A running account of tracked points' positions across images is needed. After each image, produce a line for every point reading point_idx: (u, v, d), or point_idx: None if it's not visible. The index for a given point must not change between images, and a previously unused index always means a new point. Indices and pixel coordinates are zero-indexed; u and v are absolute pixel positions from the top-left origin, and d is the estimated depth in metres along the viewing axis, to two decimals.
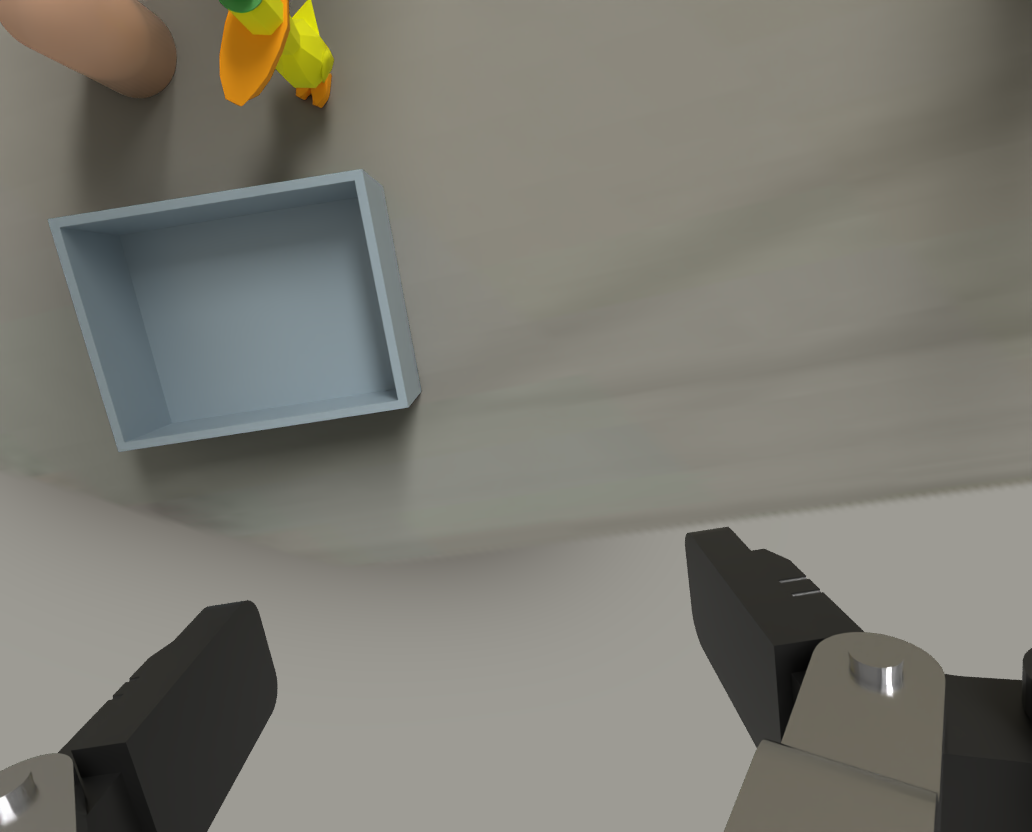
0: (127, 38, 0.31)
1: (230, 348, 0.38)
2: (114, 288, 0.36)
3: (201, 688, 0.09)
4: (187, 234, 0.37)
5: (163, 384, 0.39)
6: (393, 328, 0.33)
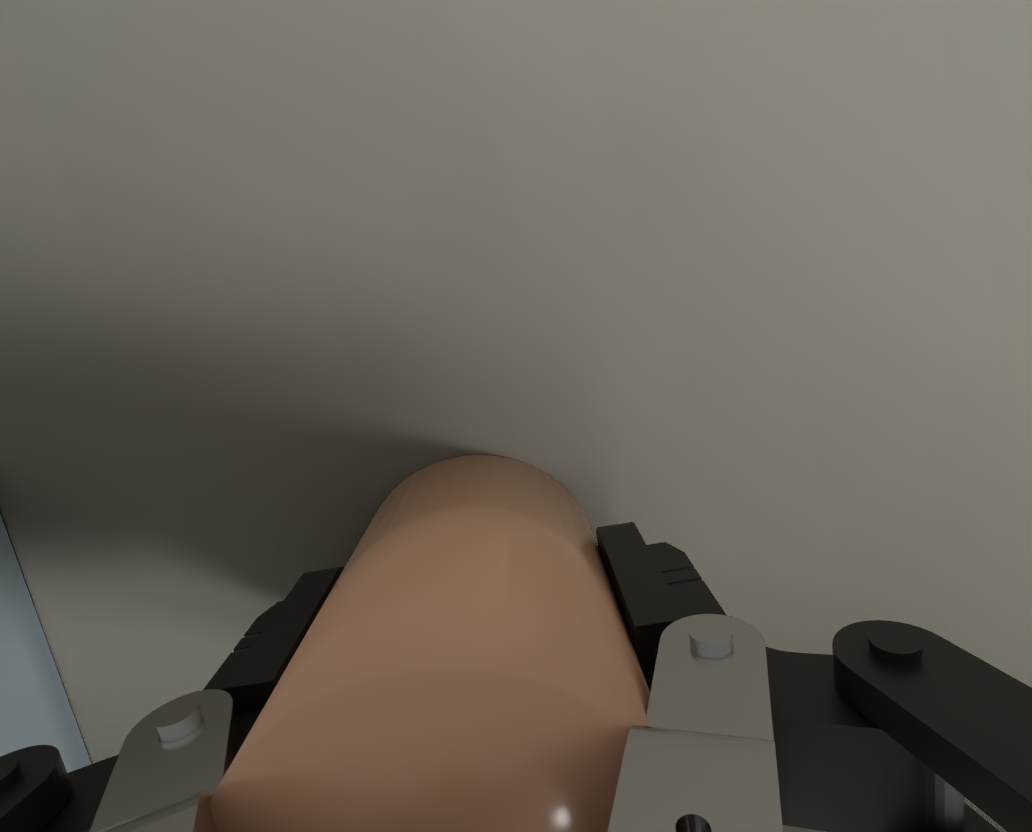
0: None
1: None
2: None
3: None
4: None
5: None
6: None
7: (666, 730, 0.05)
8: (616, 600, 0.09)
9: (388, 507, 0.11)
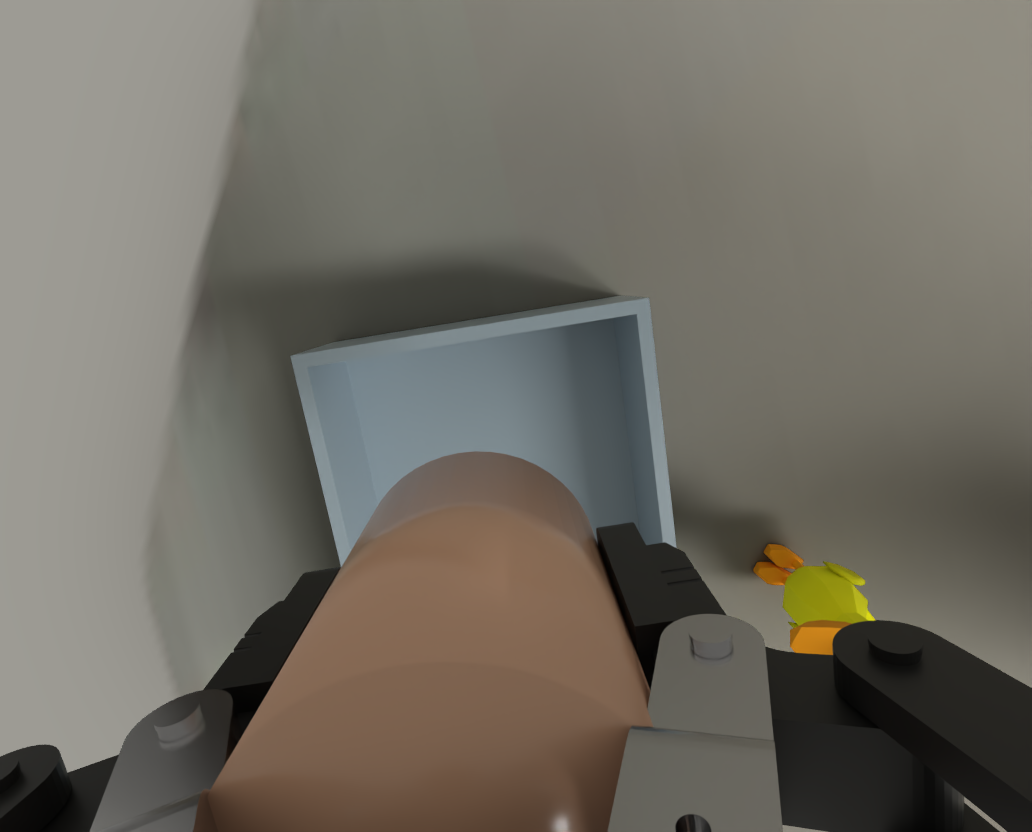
0: None
1: (457, 445, 0.27)
2: None
3: None
4: (611, 402, 0.27)
5: None
6: None
7: (666, 730, 0.05)
8: (615, 596, 0.09)
9: (387, 503, 0.11)
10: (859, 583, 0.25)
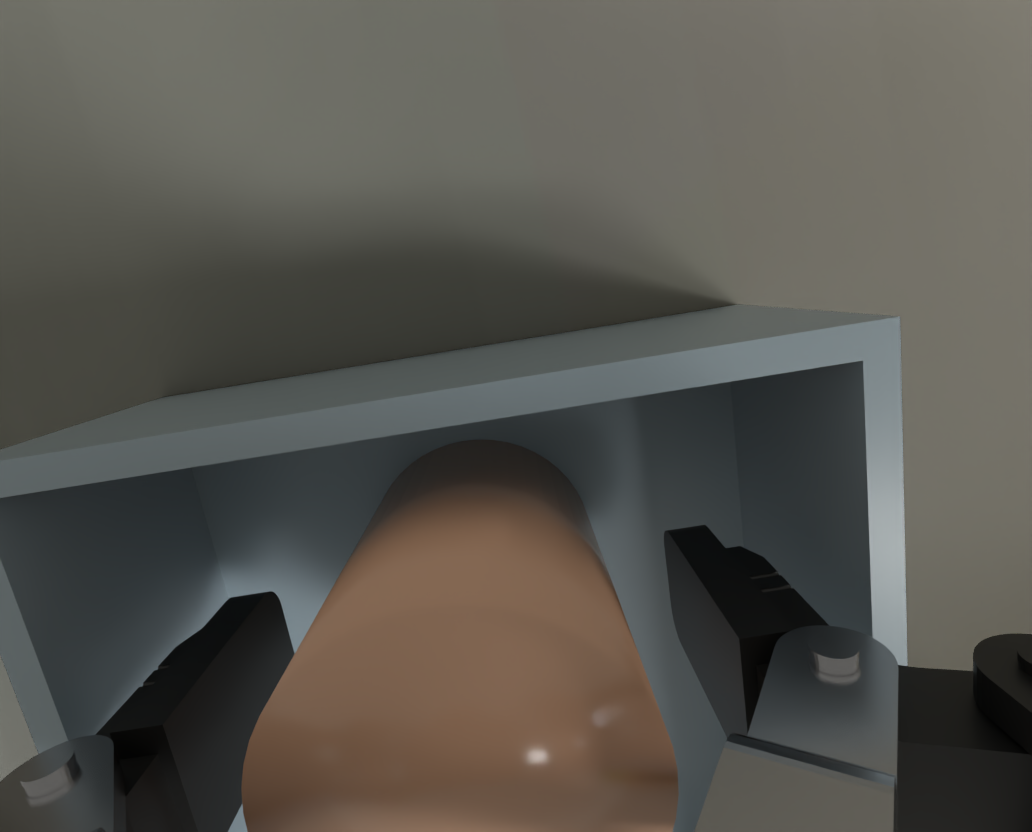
0: None
1: None
2: None
3: (229, 674, 0.09)
4: (716, 516, 0.14)
5: None
6: None
7: (769, 744, 0.05)
8: (606, 567, 0.10)
9: (398, 486, 0.12)
10: None
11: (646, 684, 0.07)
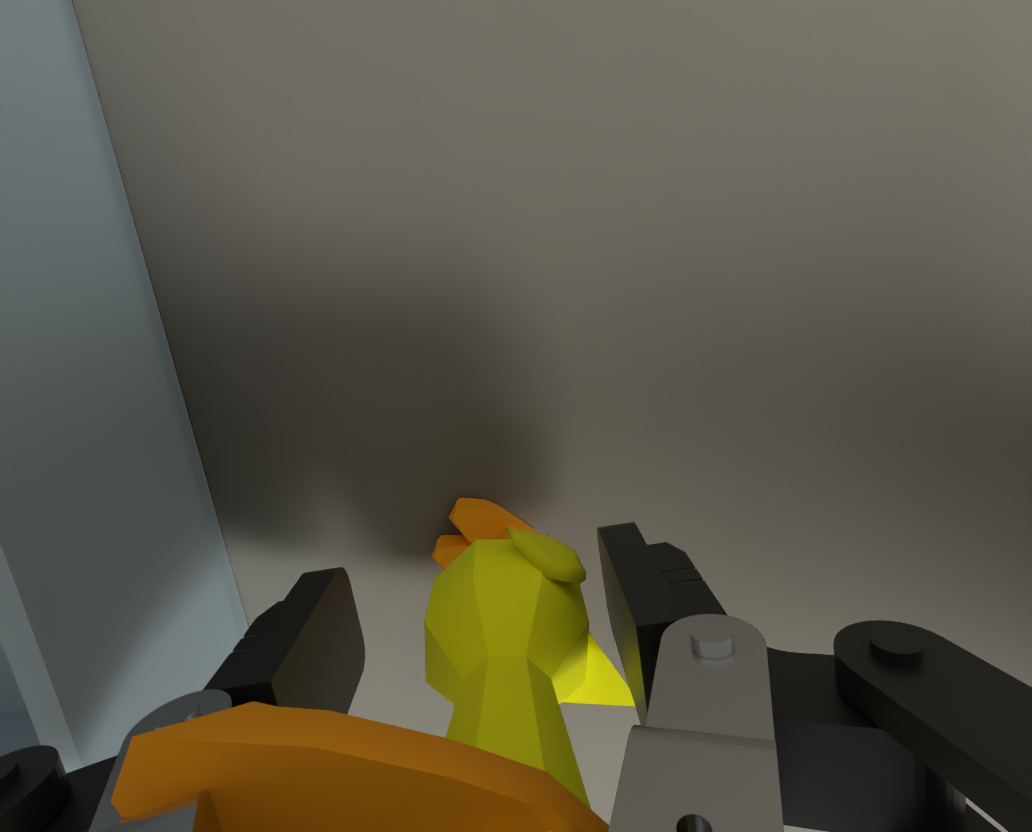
0: None
1: None
2: None
3: (315, 642, 0.10)
4: None
5: None
6: None
7: (667, 730, 0.05)
8: None
9: None
10: (569, 579, 0.10)
11: None
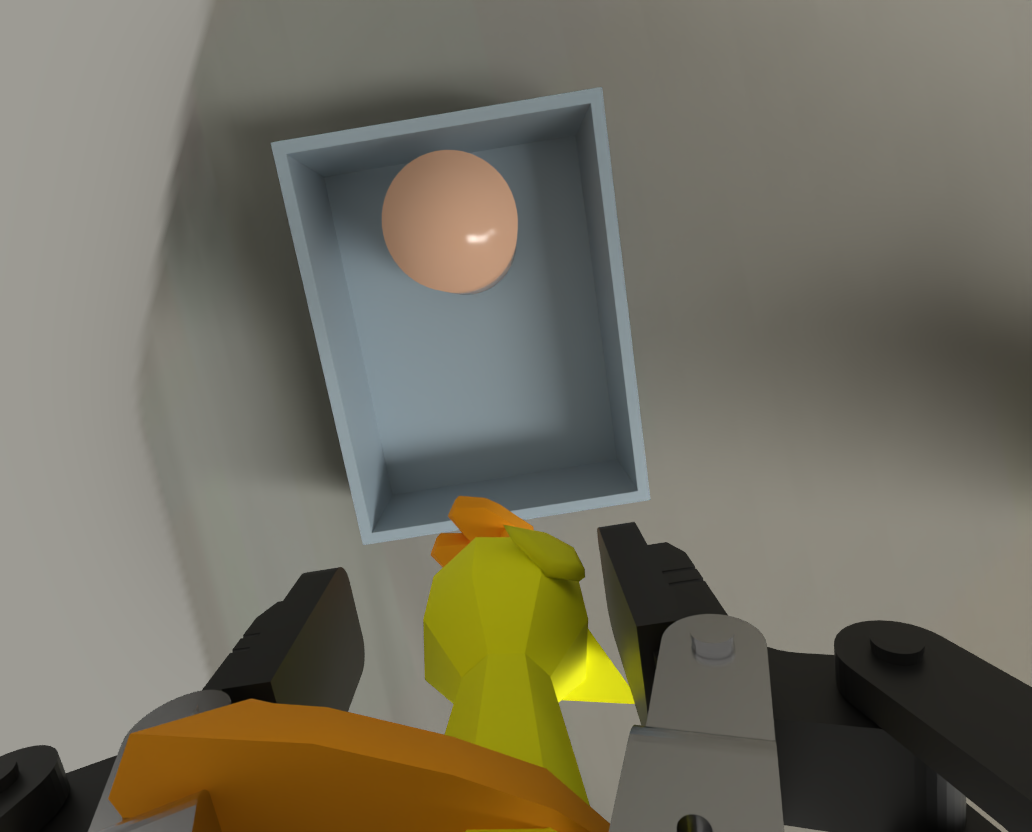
0: None
1: None
2: (508, 136, 0.26)
3: (315, 642, 0.10)
4: (575, 228, 0.29)
5: (378, 171, 0.28)
6: None
7: (667, 730, 0.05)
8: None
9: None
10: (568, 576, 0.10)
11: None
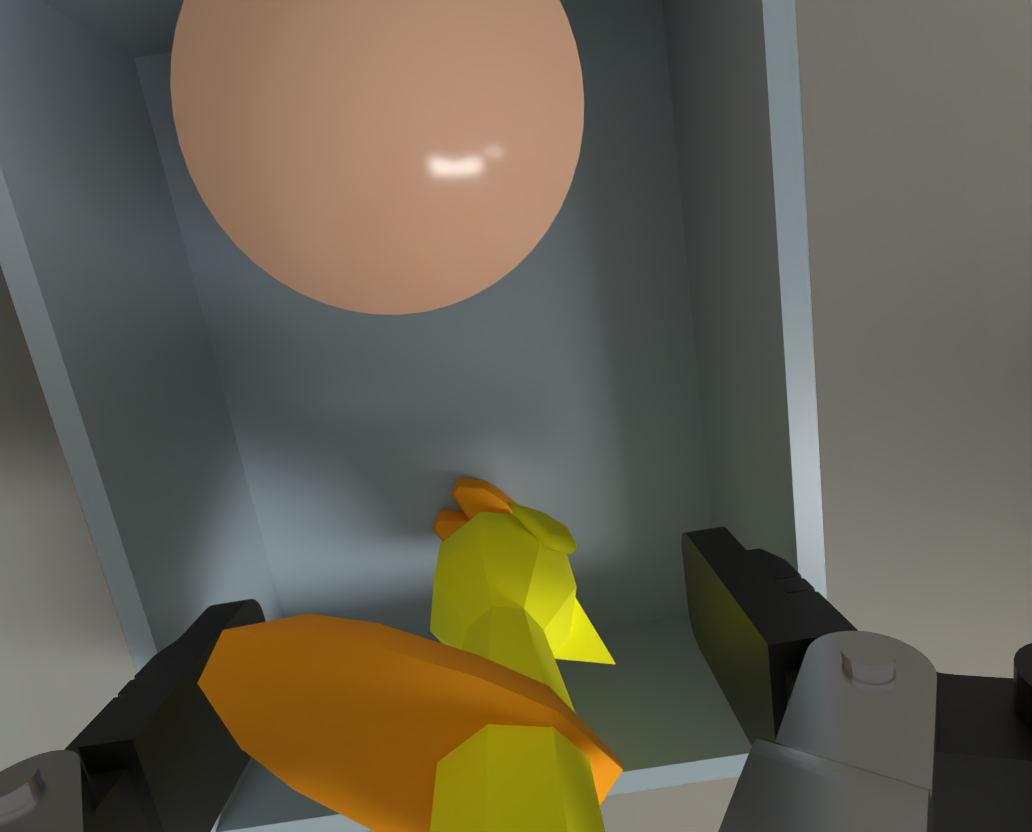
0: None
1: None
2: None
3: None
4: (653, 168, 0.14)
5: None
6: None
7: (797, 751, 0.05)
8: None
9: None
10: (562, 548, 0.12)
11: None
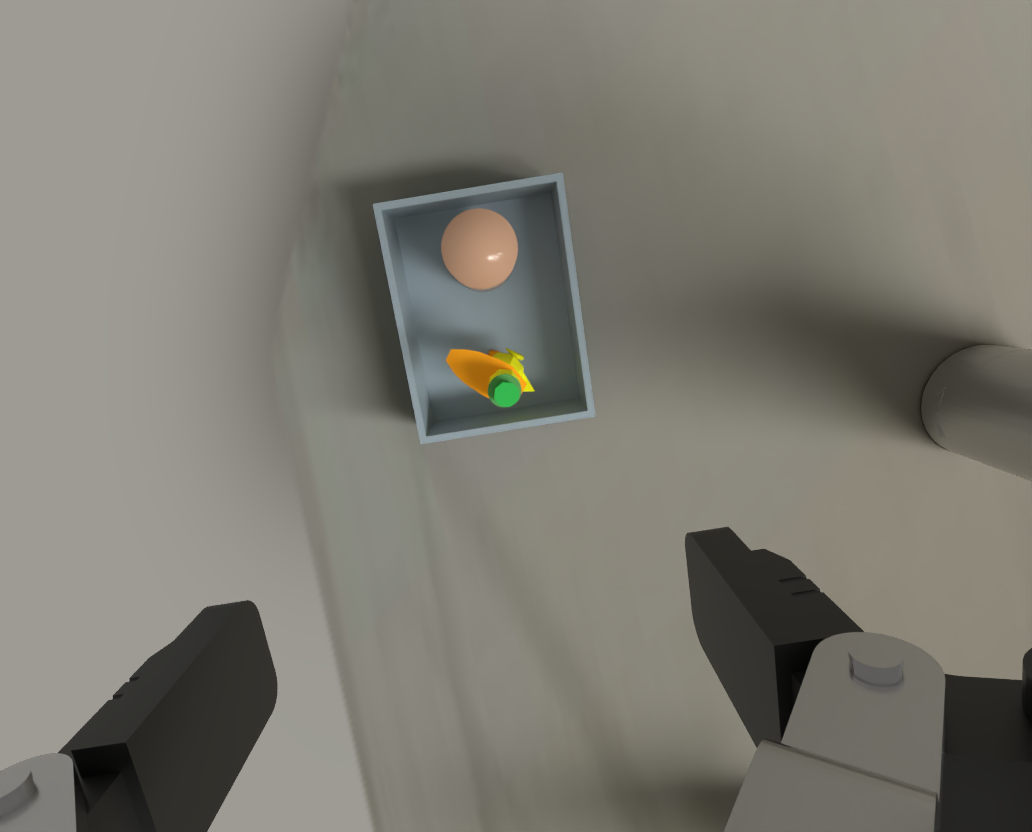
0: (484, 288, 0.42)
1: None
2: (509, 195, 0.43)
3: (200, 687, 0.09)
4: (551, 250, 0.46)
5: (428, 215, 0.45)
6: (481, 433, 0.44)
7: (803, 752, 0.05)
8: None
9: None
10: (519, 358, 0.44)
11: (499, 215, 0.39)
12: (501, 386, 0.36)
